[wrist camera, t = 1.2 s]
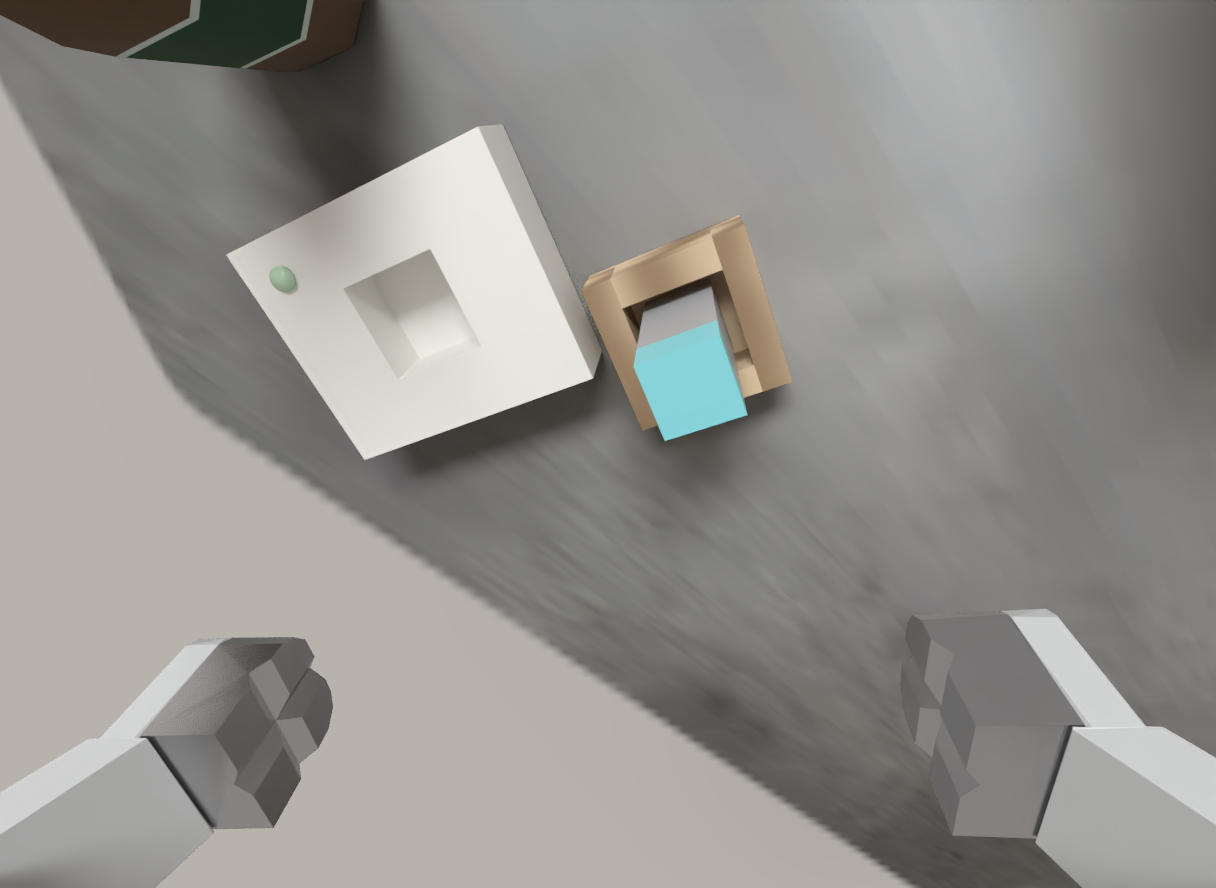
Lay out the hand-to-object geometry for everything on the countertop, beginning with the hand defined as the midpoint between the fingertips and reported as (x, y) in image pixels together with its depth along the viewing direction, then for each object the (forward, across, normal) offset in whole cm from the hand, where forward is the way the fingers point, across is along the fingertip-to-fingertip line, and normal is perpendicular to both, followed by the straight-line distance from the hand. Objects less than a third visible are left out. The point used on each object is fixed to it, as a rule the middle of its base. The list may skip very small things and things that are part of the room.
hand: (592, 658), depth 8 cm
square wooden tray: (+26, -2, +3) cm, 26 cm away
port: (+26, +11, 0) cm, 29 cm away
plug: (+26, -2, +3) cm, 26 cm away
